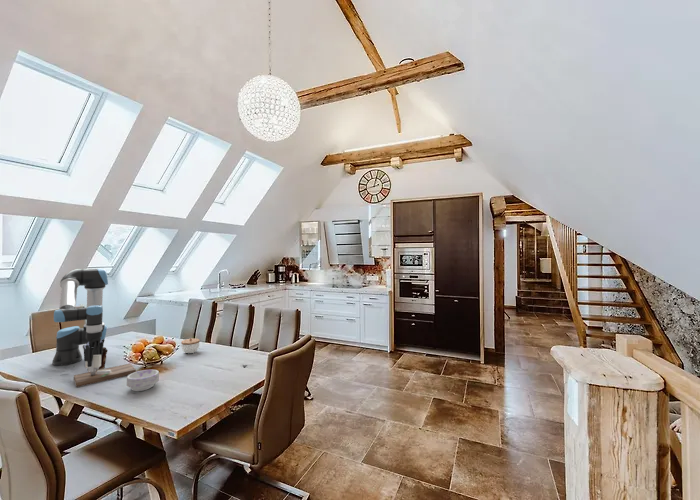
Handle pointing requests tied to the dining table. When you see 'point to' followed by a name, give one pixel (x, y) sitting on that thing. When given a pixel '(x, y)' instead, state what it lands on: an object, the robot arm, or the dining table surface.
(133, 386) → the white floral bowl
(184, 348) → the lidded bowl
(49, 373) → the dining table surface
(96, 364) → the white piece
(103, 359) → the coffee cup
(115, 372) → the board
